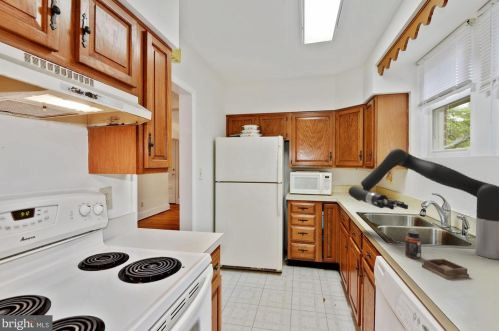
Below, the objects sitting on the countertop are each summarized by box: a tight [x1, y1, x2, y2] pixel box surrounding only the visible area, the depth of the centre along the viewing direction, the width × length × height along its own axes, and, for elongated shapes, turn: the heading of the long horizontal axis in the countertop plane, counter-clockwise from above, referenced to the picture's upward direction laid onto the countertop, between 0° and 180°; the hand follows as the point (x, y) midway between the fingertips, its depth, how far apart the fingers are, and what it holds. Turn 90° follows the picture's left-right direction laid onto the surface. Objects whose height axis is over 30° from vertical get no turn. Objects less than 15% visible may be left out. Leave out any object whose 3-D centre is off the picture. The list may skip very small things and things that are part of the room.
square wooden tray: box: [421, 258, 470, 280], centre depth 96 cm, size 10×10×3 cm
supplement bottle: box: [404, 230, 422, 260], centre depth 111 cm, size 6×6×11 cm
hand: (400, 207), depth 121 cm, fingers open, 8 cm apart
